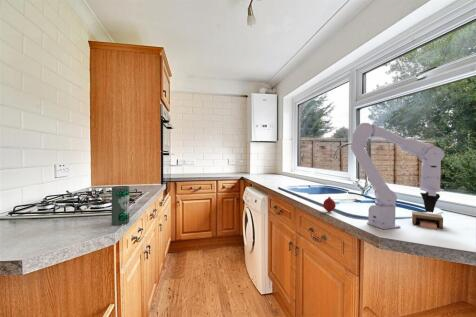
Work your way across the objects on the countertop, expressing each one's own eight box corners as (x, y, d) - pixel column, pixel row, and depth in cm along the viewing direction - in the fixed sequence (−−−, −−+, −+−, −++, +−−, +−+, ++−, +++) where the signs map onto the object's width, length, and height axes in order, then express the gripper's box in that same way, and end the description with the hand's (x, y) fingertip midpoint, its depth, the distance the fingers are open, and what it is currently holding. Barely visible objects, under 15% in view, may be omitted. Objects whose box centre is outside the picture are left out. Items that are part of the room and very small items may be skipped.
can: (124, 225, 87) (124, 188, 87) (108, 225, 87) (109, 188, 87) (131, 220, 93) (131, 185, 93) (116, 220, 93) (116, 185, 93)
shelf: (442, 228, 88) (443, 218, 88) (412, 224, 93) (412, 214, 93) (440, 225, 93) (440, 214, 92) (412, 220, 98) (412, 211, 98)
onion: (336, 214, 109) (336, 198, 108) (324, 213, 110) (324, 197, 110) (333, 211, 114) (334, 195, 114) (322, 210, 115) (322, 195, 115)
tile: (436, 230, 87) (436, 225, 87) (420, 227, 90) (420, 223, 90) (434, 226, 92) (434, 221, 92) (419, 224, 95) (419, 219, 95)
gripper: (447, 179, 77) (446, 217, 77) (441, 176, 88) (440, 209, 89) (421, 177, 81) (420, 214, 81) (418, 175, 93) (417, 207, 93)
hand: (429, 211), depth 85 cm, fingers closed
